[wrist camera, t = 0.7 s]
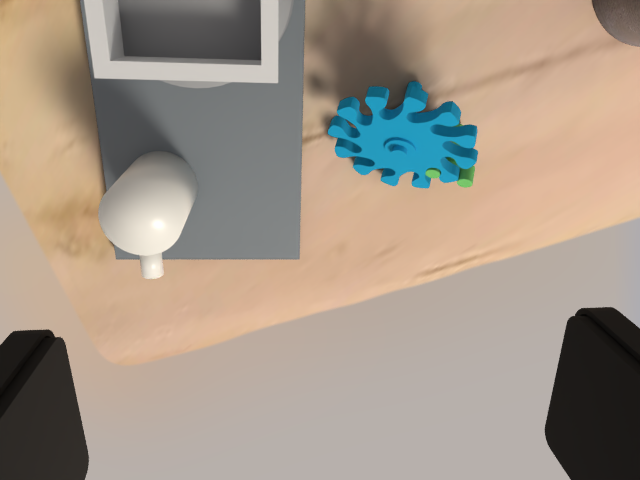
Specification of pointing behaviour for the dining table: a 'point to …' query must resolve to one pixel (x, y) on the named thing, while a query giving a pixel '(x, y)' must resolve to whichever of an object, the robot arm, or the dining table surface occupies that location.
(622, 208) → the dining table surface
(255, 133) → the motor stand
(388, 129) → the gear
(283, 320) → the dining table surface
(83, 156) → the dining table surface
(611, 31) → the pillar candle
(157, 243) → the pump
